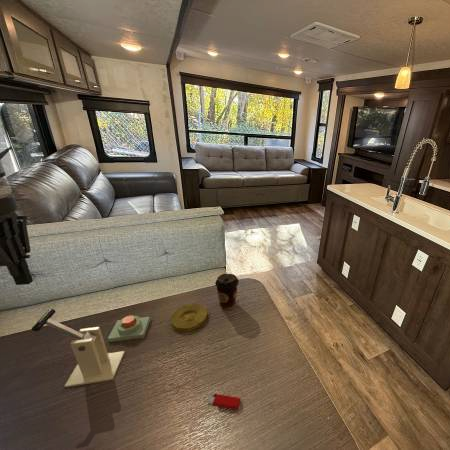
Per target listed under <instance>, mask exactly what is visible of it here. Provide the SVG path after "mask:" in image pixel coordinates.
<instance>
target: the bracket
mask: <svg viewBox="0 0 450 450" xmlns="http://www.w3.org/2000/svg"><path fill="white" fill-rule="evenodd" d="M78 332H79V333H82V334H85V333H87V332H89V333H91V334H93V335H95V336H97V338H96V339H95V341H94V342H93V339H83V340H79V339H75V340H71V342H70V347H71V349H72V352H73V354H74V357H75V360H76V362H77V364H76V366H75V367H74V369H73V371H72V373H71V374H70V375H69V377H68V379H67V380H66V383H65V384H64V388H71V387H77V386H84V385H90V384H95V383H103V382H108V381H113V380H114V378H115V375H116V374H117V372H118V369H119V366H120V365H121V362H122V361H123V358H124V356H125V353H126V351H125V350H122V351H115V352H108V350H107V346H106V344H105V339H104V336H103V333H102V330H101V327H100V326H95V327H85V328H80V329H79V331H78Z"/></svg>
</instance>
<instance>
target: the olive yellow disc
mask: <svg viewBox="0 0 450 450" xmlns="http://www.w3.org/2000/svg"><path fill="white" fill-rule="evenodd" d="M207 317H208V312H207V308H206V307H204V306H203V305H201V304H193V303H192V304H191V303H190V304H186V305H183V306H181V307H179V308H178V309H176V310H174V312H173V313H172V315H171V317H170V324H171V327H172V328H173V329H174V330H175V331H177V332H183V333H184V332H191V331H195V330H197V329H198V328H201V326H203V325H204V324H205V323H206V321H207Z"/></svg>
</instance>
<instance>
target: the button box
mask: <svg viewBox="0 0 450 450" xmlns="http://www.w3.org/2000/svg"><path fill="white" fill-rule="evenodd" d="M133 316H134V317H135V324H134V325H133V326H131V327H129V328H124V327H123V325H122V319H118V320H116V321H115V324H114V326H113V327H112V330H111V331H110V333H109V336H108V337H107V341H108V343H112V342H123V341H130V340H137V339H144V338H145V336H146V333H147V330H148V327H149V326H150V323H151V317H150V316H145V317H140V316H137V315H133Z"/></svg>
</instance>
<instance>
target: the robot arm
mask: <svg viewBox="0 0 450 450" xmlns="http://www.w3.org/2000/svg"><path fill="white" fill-rule="evenodd" d="M12 191H13V190H12V188H11V185H10V182H9V180H8V177H7V175H6V172H5V168H4V166H3V164H2V160H1V159H0V267H6V269H7V271H8V273H9V275H10V276H11V277H12V279H13V282H14V284H15V285H16V286H22V285H31V284H32V282H34V278H33V276H32V274H31V271H30V269H29V264H28V261H27V259H30V258H31V254H30V253H31V243H30V238H29V237H30V236H29V232H28V226H27V222H28V216H27V215H25V214H23V215H22V214H17V211H18V209H19V205H18V202H17V200H16V197H15V194H12Z"/></svg>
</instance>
